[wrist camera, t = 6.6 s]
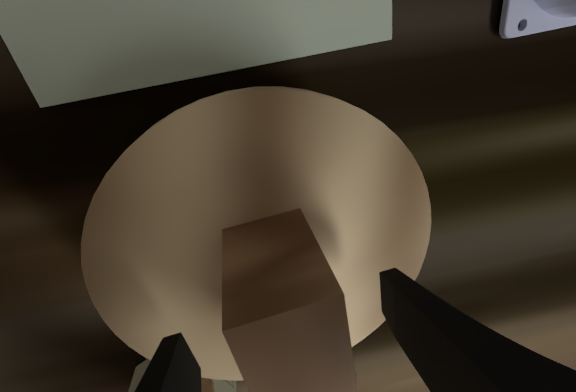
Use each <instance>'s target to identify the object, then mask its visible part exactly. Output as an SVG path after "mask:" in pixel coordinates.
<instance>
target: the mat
mask: <svg viewBox="0 0 576 392" xmlns="http://www.w3.org/2000/svg"><path fill="white" fill-rule="evenodd" d="M0 35H1V37H2V39H3V40H4V42H5V44H6V46H7V48H8V50H9V51H10V53H11V55H12V57H13V59H14V61H15V62H16V64H17V66H18V68H19V70H20V71H21V73H22V75H23V77H24V79H25V81H26V82H27V84H28V86H29V88H30V90H31V92H32V93H33V95H34V97H35V99H36V101H37V103H38V104H39V106H40V108H42V107H47V106H53V105H58V104H63V103H68V102H73V101H78V100H83V99H88V98H94V97H99V96H104V95H109V94H114V93H119V92H124V91H130V90H135V89H140V88H145V87H150V86H155V85H160V84H165V83H171V82H176V81H181V80H186V79H191V78H196V77H201V76H206V75H212V74H217V73H222V72H227V71H232V70H237V69H242V68H247V67H253V66H258V65H263V64H268V63H273V62H278V61H283V60H289V59H294V58H299V57H304V56H309V55H314V54H319V53H324V52H330V51H335V50H340V49H345V48H350V47H355V46H360V45H365V44H371V43H376V42H381V41H386V40H391V39H392V0H0Z"/></svg>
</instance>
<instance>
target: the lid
mask: <svg viewBox="0 0 576 392" xmlns="http://www.w3.org/2000/svg"><path fill="white" fill-rule="evenodd" d="M430 229H431V205H430V200H429V194H428V189H427V186H426V183H425V180H424V177H423V174H422V172H421V170H420V168H419V166H418V164H417V162H416V160H415V159H414V157H413V155H412V153H411V152H410V151H409V150H408V148H407V147H406V146H405V145H404V143H403V142H402V141H401V139H400V138H399V137H398V136H397V135H396V134H395V133H393V132H392V131H391V130H390V129H389V128H388V127H387V126H386V125H385V124H384V123H382V122H381V121H379V120H378V119H376V118H375V117H373V116H372V115H370V114H368V113H367V112H365V111H364V110H362V109H360V108H357V107H355V106H353V105H351V104H348V103H346V102H344V101H342V100H339V99H337V98H334V97H331V96H328V95H324V94H321V93H317V92H314V91H310V90H306V89H298V88H290V87H282V86H269V87H249V88H243V89H237V90H230V91H225V92H222V93H219V94H215V95H212V96H209V97H206V98H202V99H199V100H197V101H195V102H193V103H191V104H189V105H187V106H184V107H182V108H180V109H178V110H176V111H174V112H173V113H171V114H170V115H168V116H167V117H165V118H163V119H162V120H160V121H159V122H157V123H156V124H154V125H153V126H152V127H150V128H149V129H148V130H147V131H146V132H145V133H144V134H143V135H141V136H140V137H139V138H138V139H137V140H136V141H135V142H134V143H133V144H131V145H130V146H129V147H128V148H127V149H126V150H125V151H124V152H123V153H122V155H121V156H120V157H119V158H118V160H117V161H116V162H115V163H114V164H113V166H112V167H111V168H110V169H109V171H108V172H107V173H106V175H105V176H104V178H103V180H102V182H101V183H100V185H99V187H98V189H97V190H96V192H95V194H94V195H93V198H92V201H91V203H90V206H89V209H88V212H87V214H86V217H85V221H84V227H83V233H82V238H81V265H82V270H83V275H84V280H85V285H86V287H87V290H88V292H89V295H90V298H91V300H92V303H93V304H94V306H95V308H96V309H97V311H98V313H99V314H100V316H101V318H102V319H103V321H104V322H105V323H106V324H107V325H108V327H109V328H110V329H111V330H112V331H113V332H114V334H115V335H116V336H118V337H119V338H120V339H121V340H122V341H123V342H124V343H125V344H127V345H128V346H129V347H130V348H132V349H133V350H135V351H136V352H138V353H139V354H141V355H142V356H144V357H145V358H147V359H149V360H151V359H152V357H153V355H154V353H155V351H156V350H157V348H158V346H159V344H160V342H161V340H162V339H163V338H164V337H167V336H170V335H173V334H177V333H180V332H181V333H182V335H183V337H184V339H185V340H186V342H187V344H188V346H189V348H190V349H191V351H192V353H193V355H194V357H195V359H196V360H197V362H198V364H199V366H200V368H201V377H202V378H208V379H215V380H232V381H236V380H244V382H245V384H246V386H247V388H248V391H249V392H358V388H357V381H356V374H355V367H354V360H353V353H352V347H353V346H354V345H355V344H357V343H358V342H360V341H361V340H363V339H364V338H366V337H367V336H368V335H369V334H370V333H372V332H373V331H374V330H375V329H377V328H378V327H379V326H380V325H381V324H382V323H383V322H384V321H385V320H386V319H385V317H384V315H383V313H382V309H381V292H380V276H379V272H382V271H385V270H388V269H392V268H397V269H398V270H400V271H401V272H403V273H404V274H405V275H407V276H408V277H410V278H411V279H413V280H414V281H415V279H416V277H417V276H418V274H419V271H420V269H421V266H422V264H423V261H424V259H425V255H426V251H427V247H428V244H429V238H430Z"/></svg>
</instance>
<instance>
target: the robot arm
mask: <svg viewBox="0 0 576 392" xmlns="http://www.w3.org/2000/svg"><path fill="white" fill-rule="evenodd" d="M519 22H520V27H519V29H518V24H519ZM573 25H576V0H503V6H502V13H501V20H500V27H499V34H500V36H501V37H502V38H514V37H519V36H524V35H529V34H533V33H538V32H543V31H548V30H553V29H558V28H563V27H568V26H573ZM379 276H380V292H381V309H382V313H383V315H384V317H385V319H386V321H387V323H388V325H389V327H390V329H391V331H392V332H393V334H394V336H395V338H396V340H397V341H398V343H399V344H400V346H401V347H402V349H403V351H404V352H405V354H406V355H407V357H408V358H409V360H410V361H411V363H412V364H413V366H414V367H415V369H416V370H417V372H418V373H419V375H420V376H421V378H422V379H423V381H424V382H425V384H426V385H427V387H428V388H429V390H430V391H431V392H576V370H573V369H571V368H569V367H567V366H564V365H562V364H560V363H557V362H555V361H553V360H551V359H548V358H546V357H544V356H542V355H540V354H538V353H536V352H534V351H532V350H530V349H528V348H526V347H524V346H522V345H520V344H518V343H516V342H514V341H512V340H510V339H508V338H506V337H504V336H503V335H501V334H499V333H497V332H495V331H493V330H492V329H490V328H488V327H486V326H485V325H483V324H481V323H479V322H478V321H476V320H474V319H473V318H471V317H469V316H468V315H466V314H464V313H463V312H461V311H459V310H458V309H456V308H455V307H453V306H452V305H450V304H448V303H447V302H445V301H444V300H442V299H441V298H439V297H438V296H436V295H435V294H433V293H432V292H430V291H429V290H427V289H426V288H424V287H423V286H421V285H420V284H418V283H417V282H415V281H414V280H413V279H411V278H410V277H408V276H407V275H405V274H404V273H403V272H401V271H400V270H398V269H397V268H392V269H388V270H385V271H382V272H379ZM134 392H201V368H200V366H199V364H198V362H197V360H196V359H195V357H194V355H193V353H192V351H191V349H190V348H189V346H188V344H187V342H186V340H185V339H184V337H183V335H182V333H181V332H180V333H177V334H173V335H170V336H167V337H164V338H163V339H162V340H161V342H160V344H159V346H158V348H157V350H156V351H155V353H154V355H153V357H152V359H151V361H150V363H149V365H148V367H147V369H146V371H145V373H144V374H143V376H142V378H141V380H140V382H139V384H138V386H137V388H136V389H135V391H134Z"/></svg>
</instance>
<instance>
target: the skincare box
mask: <svg viewBox="0 0 576 392" xmlns="http://www.w3.org/2000/svg"><path fill="white" fill-rule="evenodd" d="M150 361H151V360H149V359H146V360H145V361H143V362H142V363H141V364H139V365H138V366H136V368H135V371H134V375H133V378H132V381H131V384H130V388H129V391H128V392H134V391H135V389H136V388H137V386H138V384H139V382H140V380H141V378H142V376H143V374H144V373H145V371H146V369H147V367H148V365H149V363H150ZM201 392H236V381H232V380H215V379H208V378H202V377H201Z"/></svg>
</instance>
